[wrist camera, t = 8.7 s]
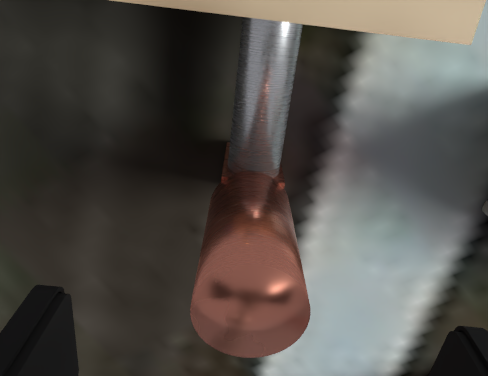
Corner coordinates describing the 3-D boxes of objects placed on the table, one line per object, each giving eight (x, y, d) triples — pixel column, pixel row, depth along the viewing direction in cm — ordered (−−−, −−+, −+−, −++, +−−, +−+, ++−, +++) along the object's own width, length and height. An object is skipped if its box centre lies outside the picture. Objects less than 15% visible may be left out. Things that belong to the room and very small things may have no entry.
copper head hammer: (276, 200, 23) (299, 362, 13) (214, 193, 23) (187, 351, 13) (348, -235, 15) (563, -741, 5) (255, -249, 15) (271, -801, 5)
